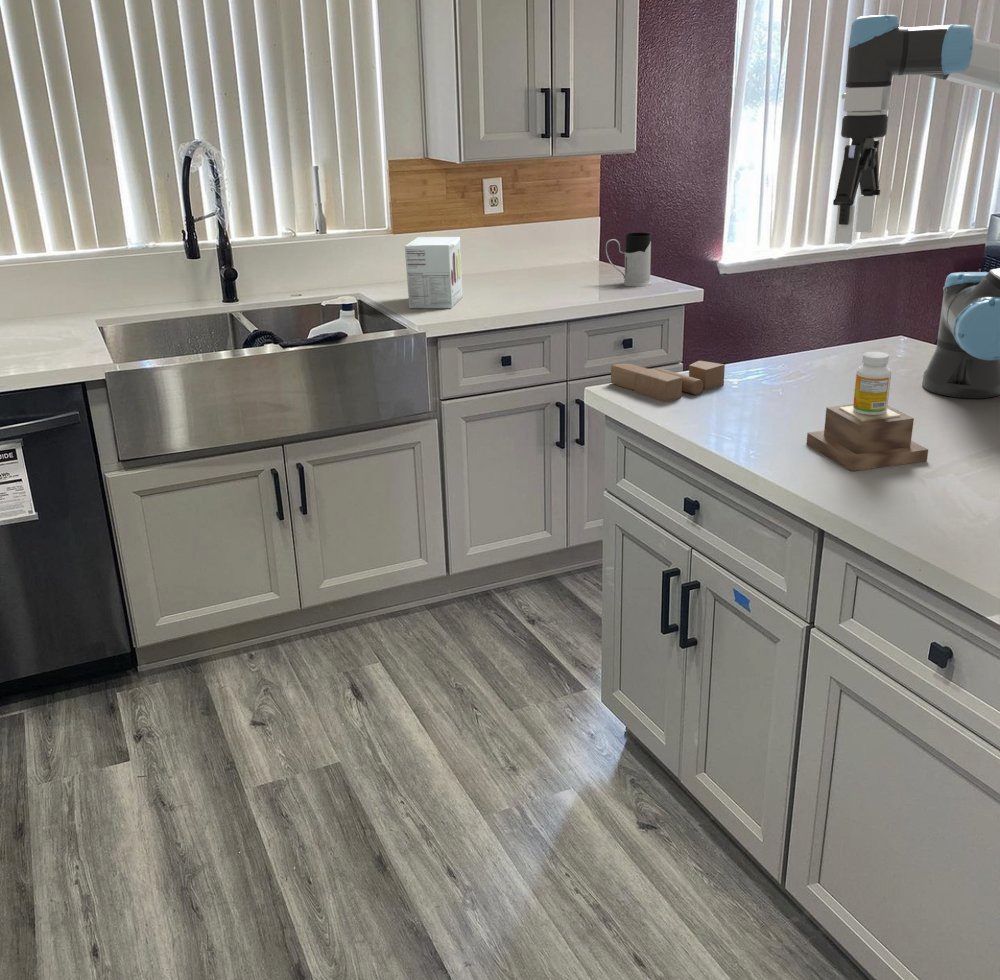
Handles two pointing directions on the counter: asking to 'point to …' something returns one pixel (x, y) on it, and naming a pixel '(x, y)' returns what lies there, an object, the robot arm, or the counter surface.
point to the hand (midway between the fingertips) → (853, 237)
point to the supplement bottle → (872, 384)
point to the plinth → (867, 457)
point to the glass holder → (636, 259)
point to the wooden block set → (668, 379)
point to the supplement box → (434, 272)
